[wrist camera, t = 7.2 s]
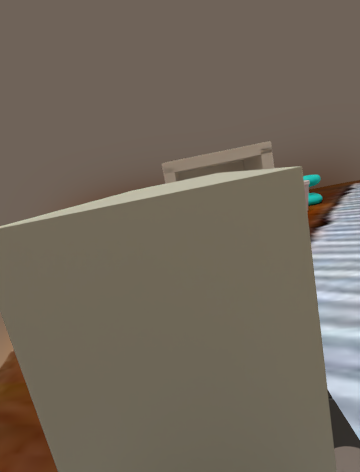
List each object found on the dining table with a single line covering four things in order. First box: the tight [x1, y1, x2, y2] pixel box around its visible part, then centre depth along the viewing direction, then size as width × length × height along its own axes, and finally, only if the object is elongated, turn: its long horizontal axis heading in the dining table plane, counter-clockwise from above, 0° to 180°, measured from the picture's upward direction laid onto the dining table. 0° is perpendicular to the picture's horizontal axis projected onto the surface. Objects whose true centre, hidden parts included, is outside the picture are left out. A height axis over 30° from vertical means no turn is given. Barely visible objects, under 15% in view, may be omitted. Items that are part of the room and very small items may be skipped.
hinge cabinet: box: [162, 141, 274, 184], centre depth 33 cm, size 14×24×20 cm, turn 178°
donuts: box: [303, 175, 322, 206], centre depth 102 cm, size 10×10×10 cm
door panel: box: [0, 166, 337, 472], centre depth 10 cm, size 4×10×16 cm, turn 178°
